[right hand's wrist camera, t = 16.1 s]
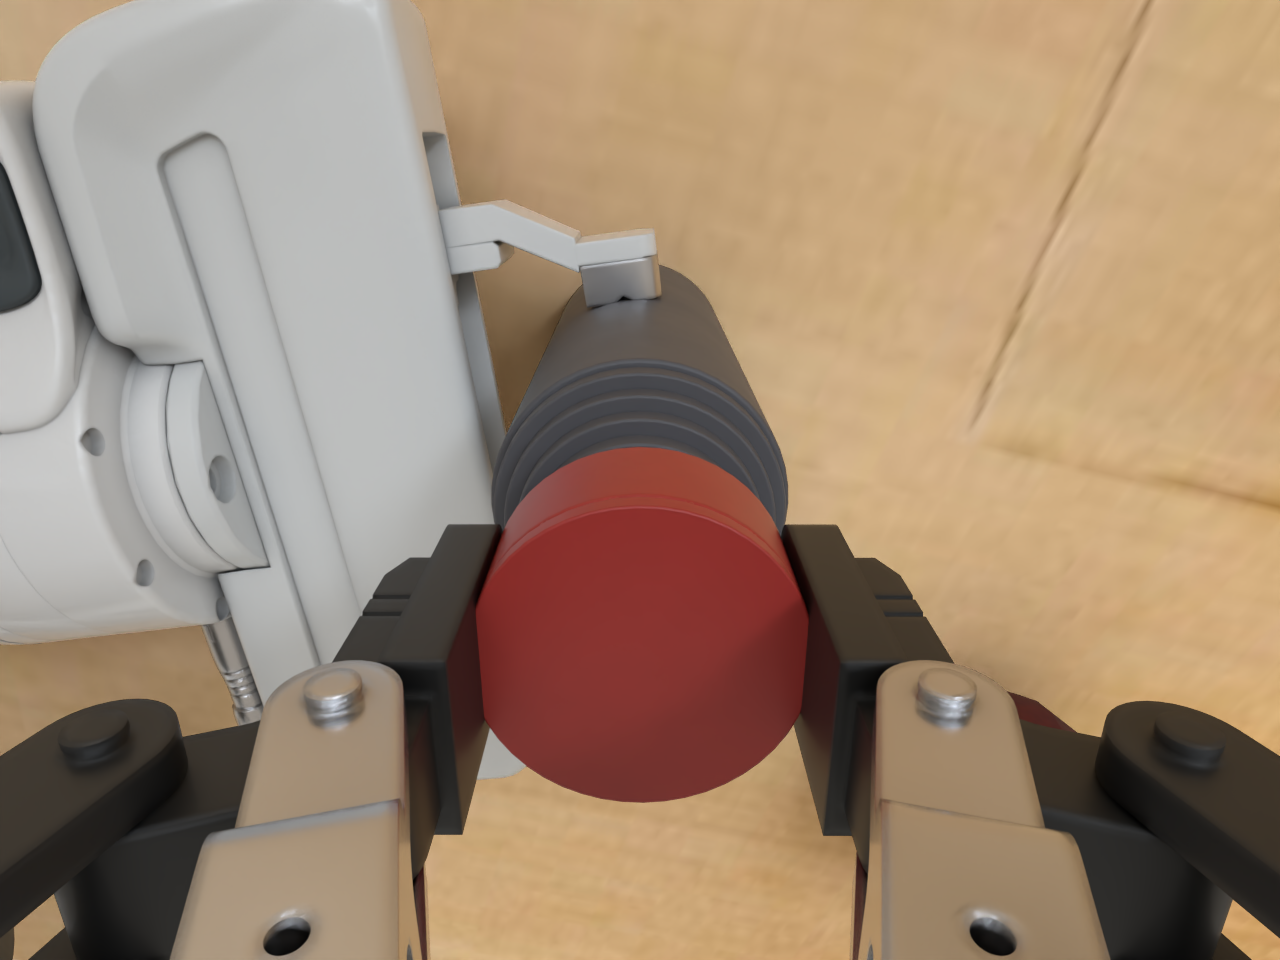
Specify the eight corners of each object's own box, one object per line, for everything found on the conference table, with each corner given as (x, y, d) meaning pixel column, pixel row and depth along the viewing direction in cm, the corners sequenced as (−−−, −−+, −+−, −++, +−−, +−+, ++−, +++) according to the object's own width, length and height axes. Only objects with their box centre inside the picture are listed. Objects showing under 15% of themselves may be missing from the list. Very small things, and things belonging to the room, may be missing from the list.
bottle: (694, 440, 28) (773, 839, 12) (541, 401, 27) (402, 762, 11) (741, 286, 26) (911, 507, 10) (577, 242, 26) (475, 398, 9)
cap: (837, 507, 12) (877, 578, 10) (716, 738, 13) (730, 841, 11) (550, 400, 11) (531, 452, 9) (458, 654, 12) (424, 746, 11)
